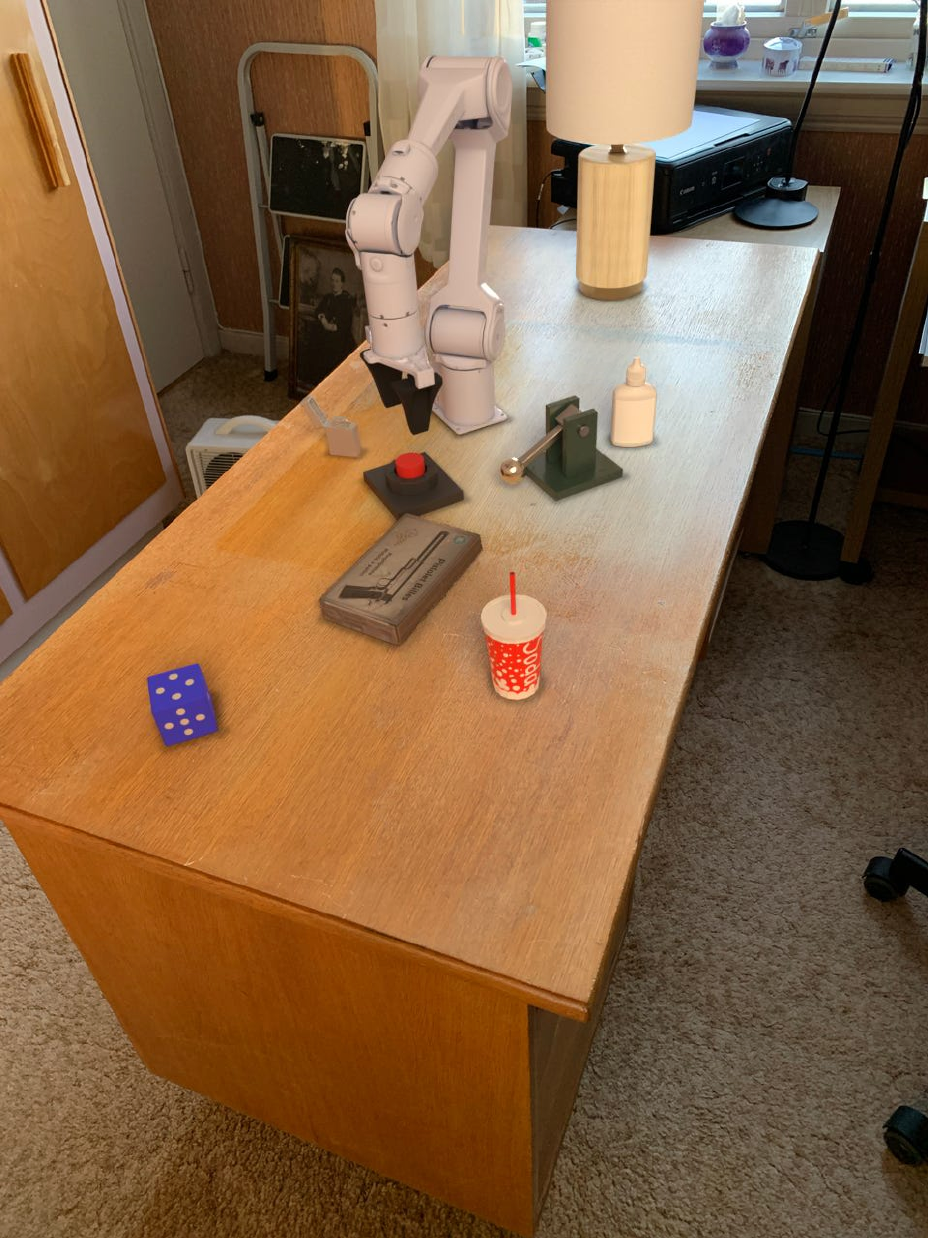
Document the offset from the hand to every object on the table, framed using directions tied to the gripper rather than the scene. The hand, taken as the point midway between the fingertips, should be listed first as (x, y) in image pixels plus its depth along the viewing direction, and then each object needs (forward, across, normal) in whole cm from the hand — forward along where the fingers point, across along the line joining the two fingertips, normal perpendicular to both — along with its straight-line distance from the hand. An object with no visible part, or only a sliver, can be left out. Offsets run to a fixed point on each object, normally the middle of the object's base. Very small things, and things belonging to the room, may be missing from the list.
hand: (405, 418), depth 110 cm
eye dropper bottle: (+11, +6, +30) cm, 32 cm away
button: (+8, 0, 0) cm, 8 cm away
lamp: (+11, -38, +57) cm, 70 cm away
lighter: (+11, -15, -5) cm, 19 cm away
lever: (+6, +7, +15) cm, 18 cm away
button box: (+10, 0, 0) cm, 10 cm away
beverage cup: (+11, +36, -6) cm, 38 cm away
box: (+11, +17, -9) cm, 22 cm away
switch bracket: (+10, +7, +19) cm, 23 cm away
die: (+11, +24, -36) cm, 45 cm away
